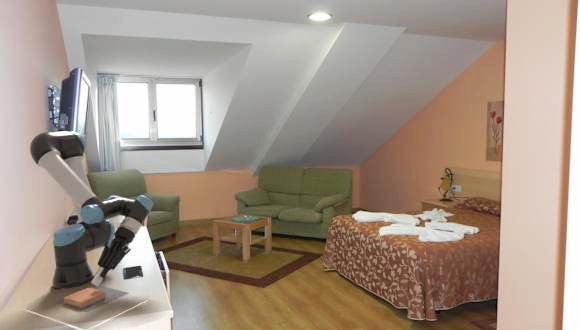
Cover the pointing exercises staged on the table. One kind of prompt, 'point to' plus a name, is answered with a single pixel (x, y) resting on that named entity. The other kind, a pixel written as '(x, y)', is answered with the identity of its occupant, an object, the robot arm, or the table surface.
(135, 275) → the phone
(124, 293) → the mat
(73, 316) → the table surface
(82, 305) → the tile
